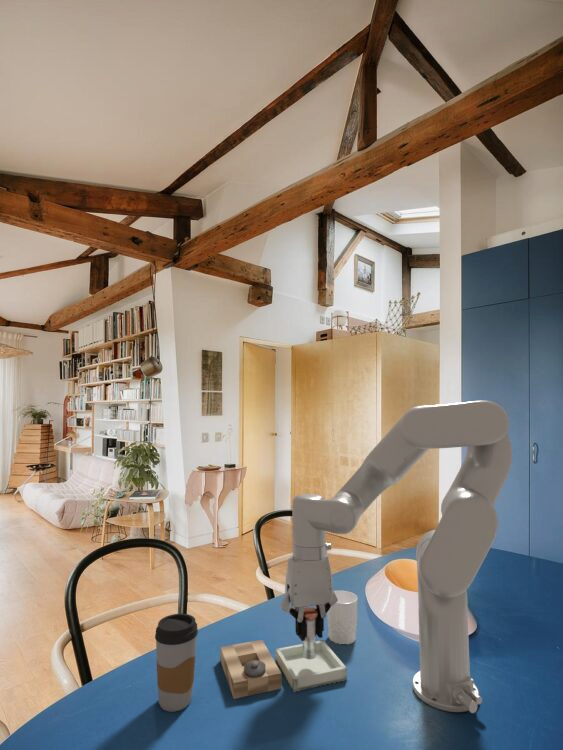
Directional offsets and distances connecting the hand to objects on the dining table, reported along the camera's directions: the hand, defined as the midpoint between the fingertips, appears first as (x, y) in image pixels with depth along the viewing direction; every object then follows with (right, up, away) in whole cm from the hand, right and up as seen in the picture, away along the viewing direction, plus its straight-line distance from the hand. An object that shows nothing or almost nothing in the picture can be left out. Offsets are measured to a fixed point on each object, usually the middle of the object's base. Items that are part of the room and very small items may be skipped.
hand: (309, 635), depth 96 cm
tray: (0, -7, -1) cm, 7 cm away
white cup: (+9, -9, +13) cm, 18 cm away
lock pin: (0, -4, 0) cm, 4 cm away
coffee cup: (-27, -7, -11) cm, 30 cm away
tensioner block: (-13, -7, -2) cm, 15 cm away
